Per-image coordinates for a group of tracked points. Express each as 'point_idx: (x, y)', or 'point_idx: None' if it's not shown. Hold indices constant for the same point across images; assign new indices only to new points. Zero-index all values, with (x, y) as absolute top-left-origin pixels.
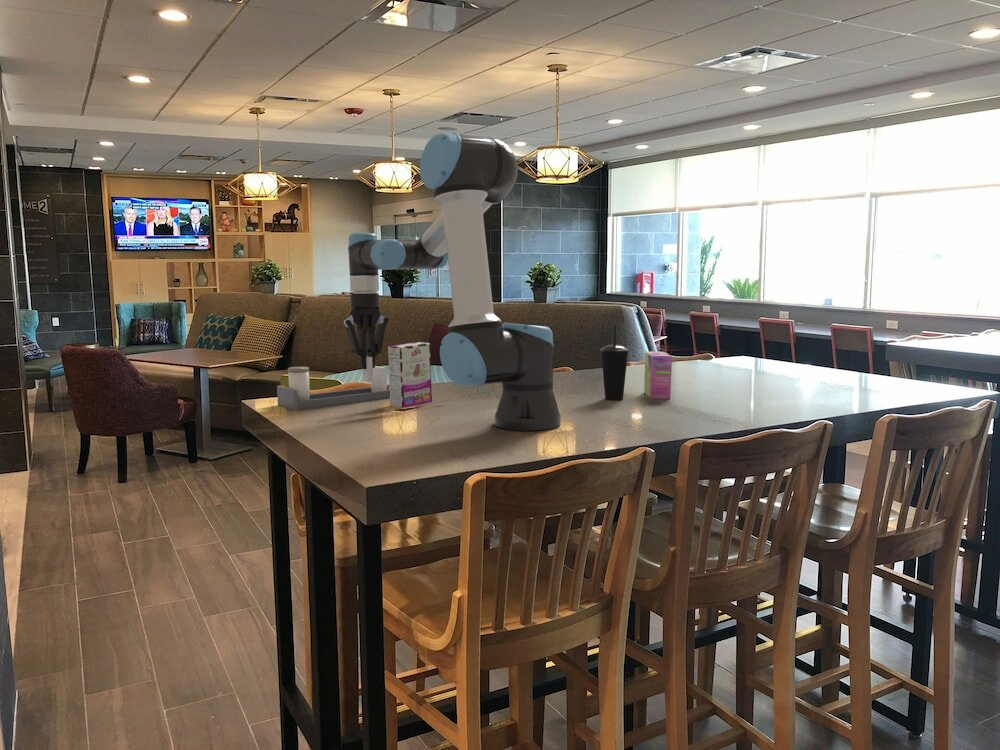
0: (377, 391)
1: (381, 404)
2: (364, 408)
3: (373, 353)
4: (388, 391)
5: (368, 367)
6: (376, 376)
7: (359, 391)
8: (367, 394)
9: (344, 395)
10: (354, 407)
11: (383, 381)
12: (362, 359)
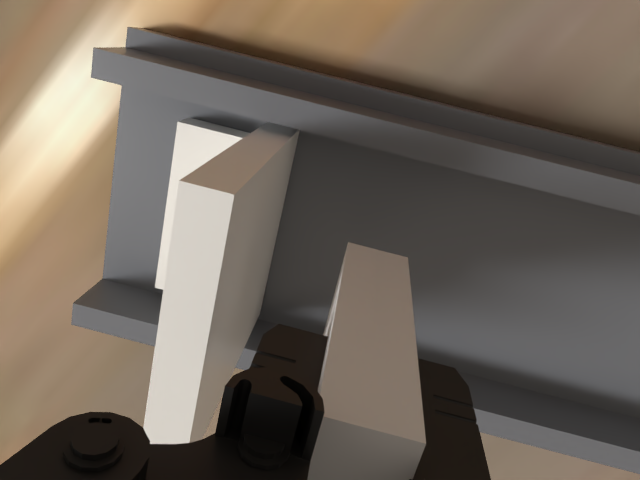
0: (271, 239)
1: (401, 47)
2: (631, 19)
3: (268, 455)
4: (267, 91)
5: (401, 333)
6: (237, 305)
7: None
8: (493, 146)
9: (483, 389)
10: (632, 129)
11: (271, 153)
12: (484, 472)
